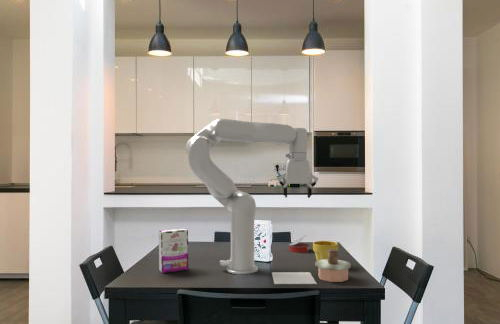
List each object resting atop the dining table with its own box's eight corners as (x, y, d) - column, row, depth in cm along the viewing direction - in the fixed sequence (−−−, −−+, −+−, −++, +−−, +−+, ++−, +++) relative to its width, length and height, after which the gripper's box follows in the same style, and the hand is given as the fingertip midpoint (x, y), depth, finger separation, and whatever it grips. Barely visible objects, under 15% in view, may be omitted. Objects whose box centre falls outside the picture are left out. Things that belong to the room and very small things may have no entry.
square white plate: (274, 285, 138) (274, 283, 138) (271, 273, 153) (271, 272, 153) (316, 285, 138) (316, 283, 138) (309, 273, 153) (309, 272, 153)
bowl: (322, 283, 140) (322, 269, 140) (316, 275, 151) (316, 262, 151) (350, 282, 141) (350, 269, 141) (343, 275, 151) (343, 262, 151)
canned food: (301, 262, 190) (296, 246, 187) (287, 256, 198) (281, 240, 195) (316, 249, 196) (311, 233, 193) (301, 244, 204) (296, 228, 201)
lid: (318, 270, 139) (318, 253, 139) (312, 261, 152) (312, 246, 152) (355, 270, 139) (354, 253, 139) (345, 261, 152) (345, 246, 152)
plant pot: (319, 270, 158) (319, 245, 158) (309, 264, 168) (309, 241, 168) (342, 268, 161) (342, 244, 161) (330, 262, 171) (330, 240, 171)
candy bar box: (184, 267, 163) (185, 228, 163) (188, 270, 158) (188, 229, 159) (158, 270, 158) (158, 230, 158) (161, 273, 153) (161, 231, 153)
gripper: (277, 156, 162) (277, 197, 162) (319, 157, 161) (319, 198, 161) (277, 157, 170) (276, 196, 169) (317, 157, 169) (316, 197, 169)
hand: (297, 197), depth 165 cm, fingers open, 9 cm apart
